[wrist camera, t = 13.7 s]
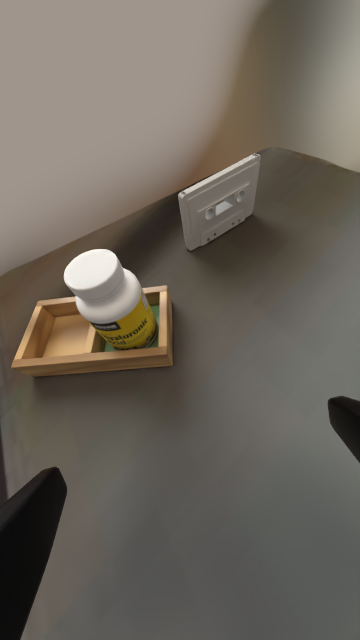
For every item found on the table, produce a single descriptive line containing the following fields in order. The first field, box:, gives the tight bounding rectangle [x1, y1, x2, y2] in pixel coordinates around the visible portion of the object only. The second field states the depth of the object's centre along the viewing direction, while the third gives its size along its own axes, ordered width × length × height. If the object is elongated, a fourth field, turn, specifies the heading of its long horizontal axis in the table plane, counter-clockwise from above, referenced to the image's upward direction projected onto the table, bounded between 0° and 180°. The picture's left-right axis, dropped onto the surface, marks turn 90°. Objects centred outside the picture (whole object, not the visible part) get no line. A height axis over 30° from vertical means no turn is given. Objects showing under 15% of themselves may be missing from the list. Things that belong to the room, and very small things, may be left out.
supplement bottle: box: [64, 249, 157, 351], centre depth 19 cm, size 5×5×10 cm
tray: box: [11, 285, 173, 377], centre depth 23 cm, size 8×15×3 cm, turn 92°
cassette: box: [178, 154, 261, 251], centre depth 28 cm, size 12×2×8 cm, turn 125°
